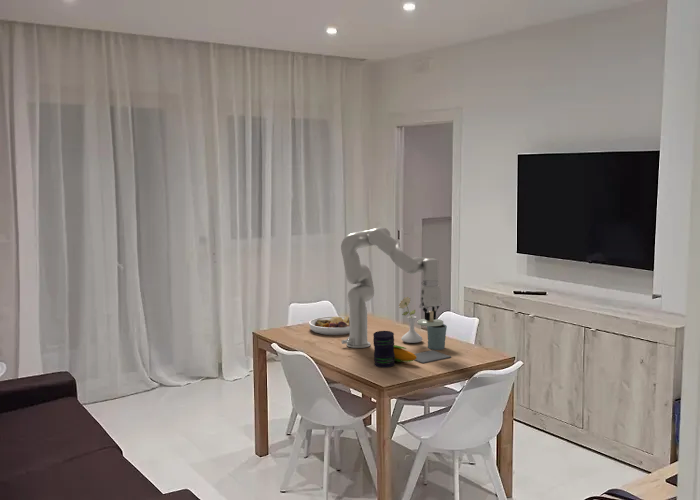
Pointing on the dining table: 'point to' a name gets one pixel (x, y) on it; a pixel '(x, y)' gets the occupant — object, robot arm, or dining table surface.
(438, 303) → the robot arm
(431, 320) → the lid
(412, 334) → the flower in vase
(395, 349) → the corn
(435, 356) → the mat
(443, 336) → the teal cup
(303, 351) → the dining table surface
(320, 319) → the bowl
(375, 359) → the storage jar
